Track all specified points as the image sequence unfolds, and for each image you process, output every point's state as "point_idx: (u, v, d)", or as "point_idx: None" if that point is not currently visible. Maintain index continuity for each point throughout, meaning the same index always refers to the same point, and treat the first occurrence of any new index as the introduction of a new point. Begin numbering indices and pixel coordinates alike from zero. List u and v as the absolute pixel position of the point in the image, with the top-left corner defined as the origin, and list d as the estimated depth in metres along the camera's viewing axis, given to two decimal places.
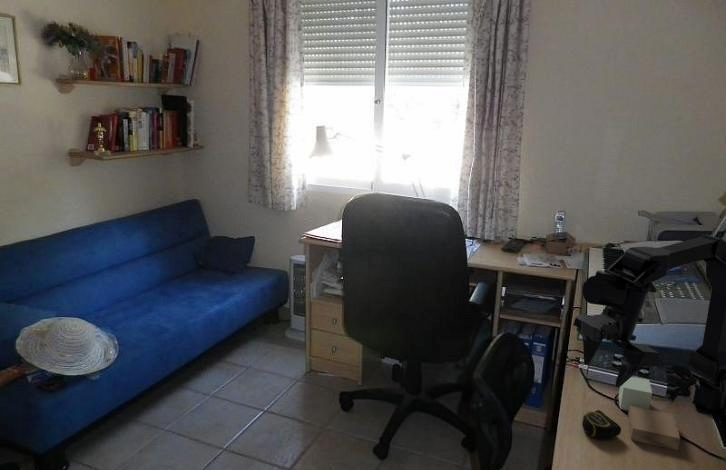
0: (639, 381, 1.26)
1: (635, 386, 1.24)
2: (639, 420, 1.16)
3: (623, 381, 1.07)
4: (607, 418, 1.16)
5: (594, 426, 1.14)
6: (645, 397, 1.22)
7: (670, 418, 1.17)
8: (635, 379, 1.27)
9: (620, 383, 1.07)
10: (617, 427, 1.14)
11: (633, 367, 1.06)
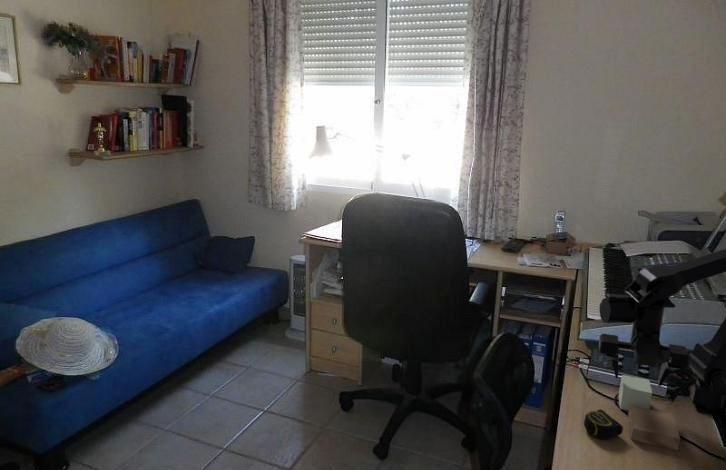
0: (639, 381, 1.26)
1: (635, 386, 1.24)
2: (639, 420, 1.16)
3: None
4: (609, 417, 1.17)
5: (596, 425, 1.14)
6: (645, 397, 1.22)
7: (670, 418, 1.17)
8: (635, 379, 1.27)
9: None
10: (619, 426, 1.14)
11: None
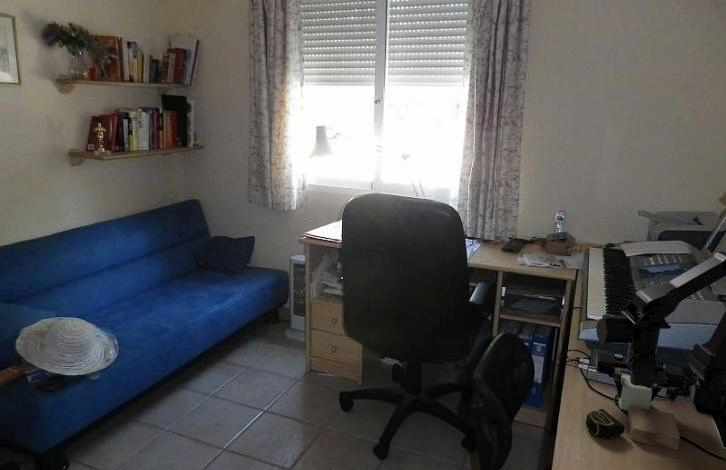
0: None
1: (635, 386, 1.24)
2: (639, 420, 1.16)
3: None
4: (610, 417, 1.17)
5: (598, 425, 1.14)
6: (645, 396, 1.22)
7: (670, 418, 1.17)
8: None
9: None
10: (620, 426, 1.15)
11: None
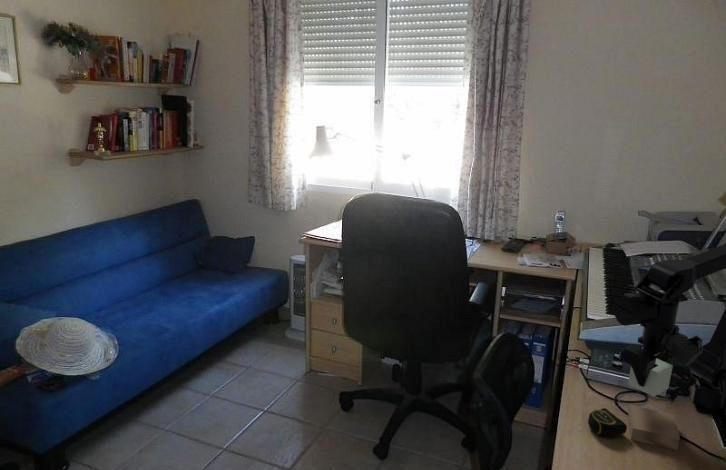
0: None
1: (657, 366, 1.16)
2: (639, 420, 1.16)
3: None
4: (613, 416, 1.17)
5: (600, 424, 1.15)
6: (668, 372, 1.16)
7: (670, 418, 1.17)
8: None
9: None
10: (623, 425, 1.15)
11: None
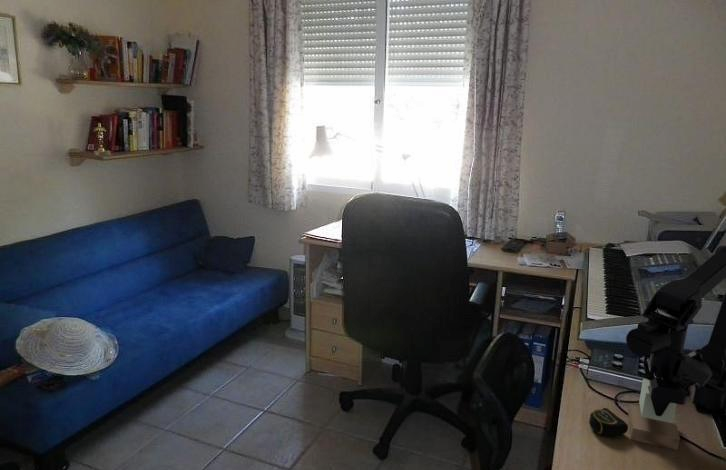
0: None
1: None
2: (639, 420, 1.16)
3: None
4: (614, 416, 1.17)
5: (601, 424, 1.15)
6: None
7: None
8: None
9: None
10: (624, 425, 1.15)
11: None
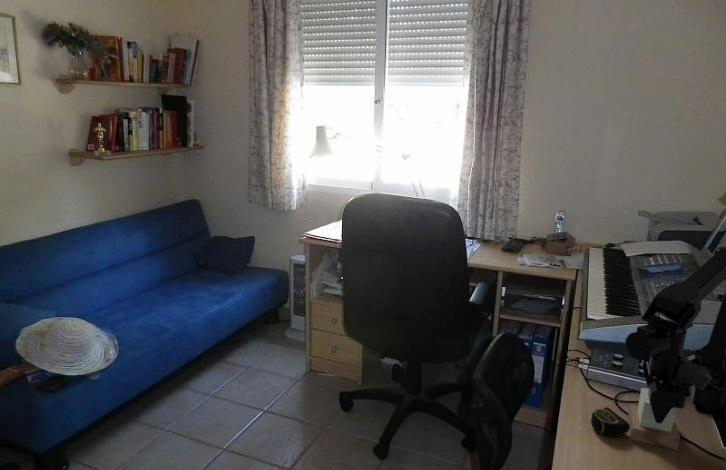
0: None
1: None
2: None
3: None
4: (616, 415, 1.17)
5: (603, 423, 1.15)
6: None
7: None
8: None
9: None
10: (626, 424, 1.15)
11: None
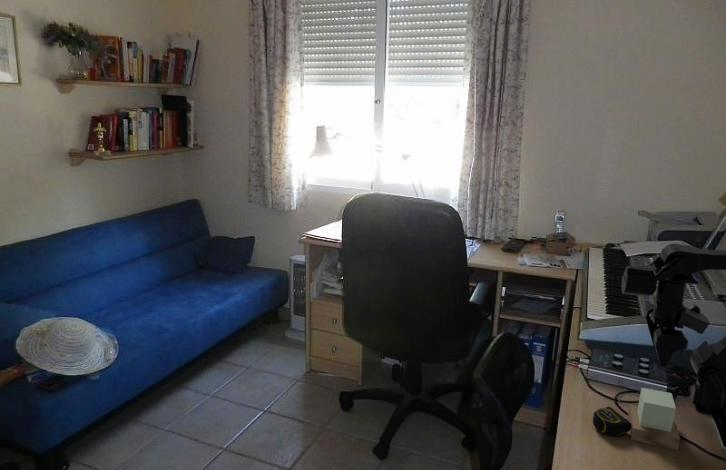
0: (650, 394, 1.16)
1: (665, 399, 1.14)
2: None
3: None
4: (617, 414, 1.18)
5: (605, 422, 1.15)
6: None
7: None
8: (649, 395, 1.15)
9: None
10: (627, 423, 1.15)
11: None
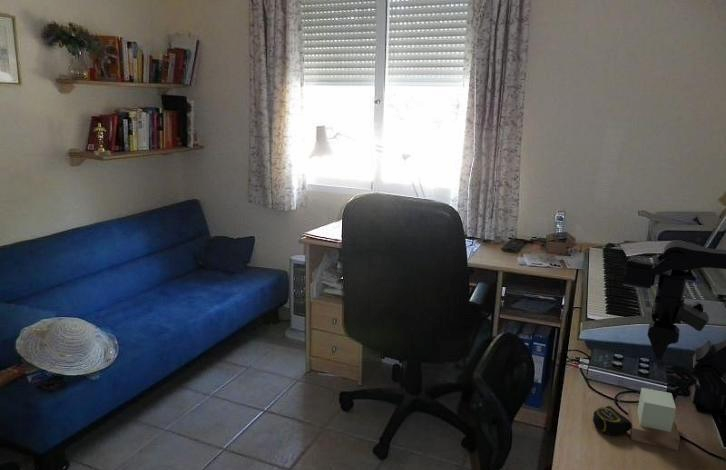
0: (650, 394, 1.16)
1: (665, 399, 1.14)
2: None
3: None
4: (617, 414, 1.18)
5: (605, 421, 1.15)
6: None
7: None
8: (649, 395, 1.15)
9: None
10: (627, 422, 1.16)
11: None
